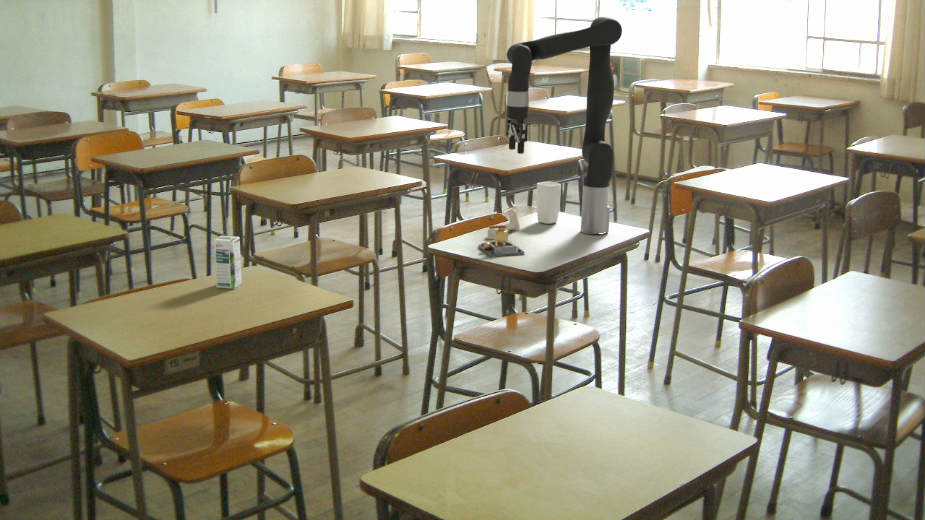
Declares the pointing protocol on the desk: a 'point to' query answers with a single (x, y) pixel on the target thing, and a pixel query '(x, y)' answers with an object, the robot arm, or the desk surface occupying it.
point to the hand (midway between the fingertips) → (516, 151)
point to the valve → (500, 235)
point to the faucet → (511, 226)
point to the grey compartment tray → (500, 249)
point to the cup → (548, 202)
